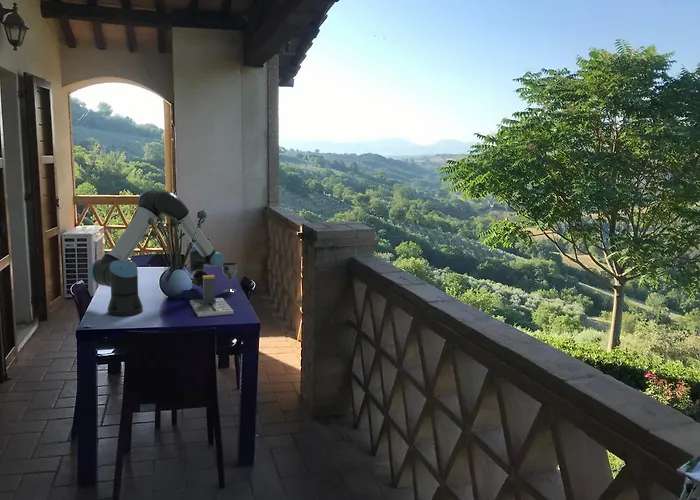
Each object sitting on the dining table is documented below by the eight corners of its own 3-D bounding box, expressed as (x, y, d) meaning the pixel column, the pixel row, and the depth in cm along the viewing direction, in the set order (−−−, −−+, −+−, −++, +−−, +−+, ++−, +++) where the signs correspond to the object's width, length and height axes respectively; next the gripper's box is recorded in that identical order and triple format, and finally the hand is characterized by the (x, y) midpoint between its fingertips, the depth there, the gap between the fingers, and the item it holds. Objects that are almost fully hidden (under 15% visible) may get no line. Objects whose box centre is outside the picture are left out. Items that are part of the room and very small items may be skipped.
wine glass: (233, 292, 306) (233, 265, 303) (220, 291, 307) (219, 264, 305) (239, 289, 314) (239, 262, 311) (226, 288, 315) (225, 262, 313)
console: (198, 317, 258) (198, 313, 258) (190, 303, 282) (189, 300, 282) (233, 314, 265) (233, 310, 264) (222, 300, 288) (222, 297, 288)
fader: (203, 303, 274) (203, 277, 272) (202, 300, 279) (201, 275, 277) (216, 302, 276) (215, 276, 274) (214, 300, 281) (214, 274, 279)
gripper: (212, 283, 307) (221, 292, 285) (187, 284, 301) (194, 294, 280) (212, 269, 305) (220, 278, 284) (187, 270, 300) (194, 279, 279)
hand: (207, 286), depth 282 cm, fingers closed
